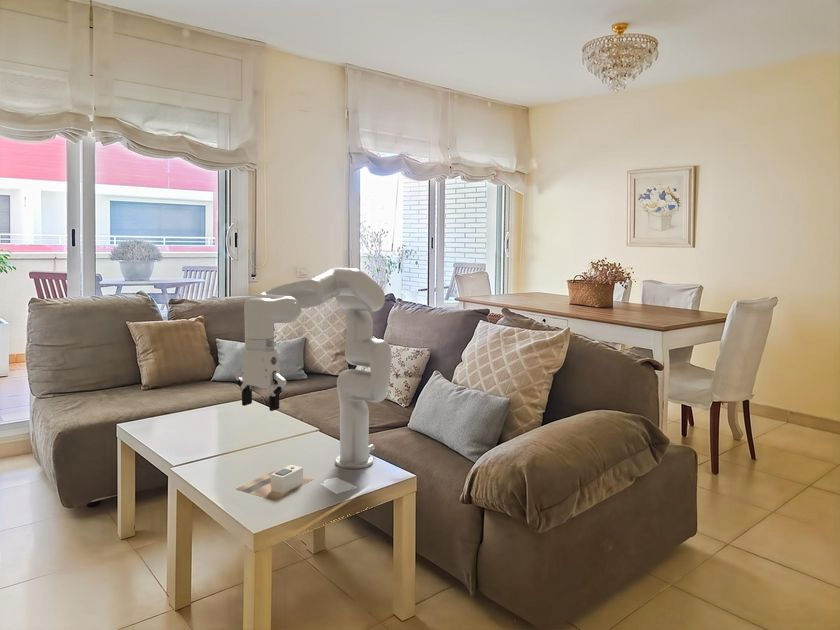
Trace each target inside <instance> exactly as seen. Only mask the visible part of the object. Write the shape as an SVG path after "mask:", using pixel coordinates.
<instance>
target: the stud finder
mask: <svg viewBox="0 0 840 630" xmlns="http://www.w3.org/2000/svg"><path fill="white" fill-rule="evenodd" d="M278 470H279V471H277V472H275V473H273V474H271V491H274V492H277V493H281V494H284V493H286V492H288V491H290V490H291V489H293V488H295V487H297V486H299V485H301V484H303V476H304V467H302V466H297V465H294V464H290V465H287V466H286V467H283V468H281V469H278Z"/></svg>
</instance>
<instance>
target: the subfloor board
mask: <svg viewBox="0 0 840 630" xmlns="http://www.w3.org/2000/svg"><path fill="white" fill-rule="evenodd" d="M279 470H280V469H275V470H273V471H271V472H269V473H266V474H265V475H263V476H261V477H259V478H256V479H254V480H252V481H249V482H248V483H245V484H243V485H242V486H239V487H237V488H235V490H236V491H240V492H244V493H247V494H250V495H254V496H258V497H262V498H264V499H268V500H271V501H276V500H278V499H279V498H281V497H283V496H286V495H287V494H289V493H291V492H292V491H294V490H297V489H298V488H300V487H302V486H304V485H306V484H308V483H310V482H312V481H314V480H315V478H313V477H309V476H304V475H303V484H301V485H299V486H297V487H295V488H293V489H291V490H290V491H288V492H286V493H284V494H281V493H277V492H274V491H271V474H273V473H275V472H277V471H279Z"/></svg>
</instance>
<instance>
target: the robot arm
mask: <svg viewBox="0 0 840 630" xmlns="http://www.w3.org/2000/svg"><path fill="white" fill-rule="evenodd" d="M334 298H335V300H336V303H337V304H338V305H339V307H340V308H341V310H342V311H343V314H344V315H345V318H346V323H347V325H346V336H345V347H344V358H345V361H346V363H348V364H349V365H353V366H358V367H364V368H365V367H366V368H370V371H368V370H361V369H355V368H350V369H345V370H342V371H341V372H340V373H339V375H338V376H337V378H336V391H337V394H338V401H339V455H338V456H337V457H336V458H335V464H336V466H338V467H340V468H342V469H349V470H350V469H351V470H355V469H356V470H357V469H358V470H359V469H363V468H368V467H369V466H371V465H373V463H374V457H373V456H372V455H371V454H370V453H371V451H373V450H375V448H376V446H375V444H373V443H372V444H370V442H369V438H370V437H369V435H370V434H369V431H370V430H369V427H370V424H369V422H370V421H369V420H370V419H369V417H370V416H369V415H370V413H369V407H368V403H367V402H371V403H381V402H383V401H384V400H385V399H386V398H387V395H388V392H389V386H390V379H391V370H392V369H391V368H392V356H393V354H392V348H391V346H390V344H389V343H388V342H387V341H386V340H383V339H379V338H373V330H374V329H373V328H374V323H373V322H374V321H373V319H372V315H371V313H370V312H378V311H380V310H381V309H382V308H383V307H384V305H385V302H386V295H385V291H384V289H383V288H382V286H381V285H379V284H378V283H377V282H376V281H375V280H374V279H373V278H372V277H370V276H369V275H368V274H366V273H365V272H364V271H362V270H360V269H358V268H354V267H353V268H349V267H332V268H329V269H326V270H324V271H321V272H320V273H317V274H315V275H313V276H311V277H308V278H306V279H302V280H298V281H294V282H291V283H290V282H289V283H286V284H282V285H277V286H275V287H271V288H269V289H267V290H264V291H262V292H260V293H258V294H257V295H256V296H254V297H250V298H247V299H246V300H245V301H244V304H243V305H244V310H243V311H244V313H243V315H244V349H243V353H242V357H241V358H242V360H241V370H238V371H237V372H235V373H234V376H235V380H236V383H237V385H238V387H239V390H240V392H241V405H242V407H243V406H244V407H245V406H249V405H251V404H253V389H251V388H252V387H254V388H261V389H267V391H268V393H269V394H270V395H269V398H268V400H269V403H268V405H269V406H268V407H269V411H270V412H273V411H277V410H279V409H280V395H281V394H282V393H283V392H284V390H285V387H286V384H287V380H286V379H285V378H284V377H283V376H282V375H281V368H280V360H279V354H278V351H277V349H275V347H276V346H277V342H276V341H275V324H291V323H293V322H296V321H297V319H298V318H299V317H300V315H301V312H302V309H309V308H314V307H319V306H321V305H323V304H324V303H326V302H328V301H329V300H332V299H334Z"/></svg>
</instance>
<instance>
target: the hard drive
mask: <svg viewBox="0 0 840 630" xmlns="http://www.w3.org/2000/svg"><path fill="white" fill-rule="evenodd" d="M319 484H320V485H322V486H323V487H324V488H326V489H328V490H330V491H331V492H332V493H335V494H337V495H338V494H341V493H344V492H349V491H351V490H354V489H357V488H358V487H357V486H356V485H353V484H352V483H350V482H347V481H345V480H343V479H341V478H338V477H333V478H332V477H331V478H327V479H324V480H323V482H322V483H320V482H319Z"/></svg>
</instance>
